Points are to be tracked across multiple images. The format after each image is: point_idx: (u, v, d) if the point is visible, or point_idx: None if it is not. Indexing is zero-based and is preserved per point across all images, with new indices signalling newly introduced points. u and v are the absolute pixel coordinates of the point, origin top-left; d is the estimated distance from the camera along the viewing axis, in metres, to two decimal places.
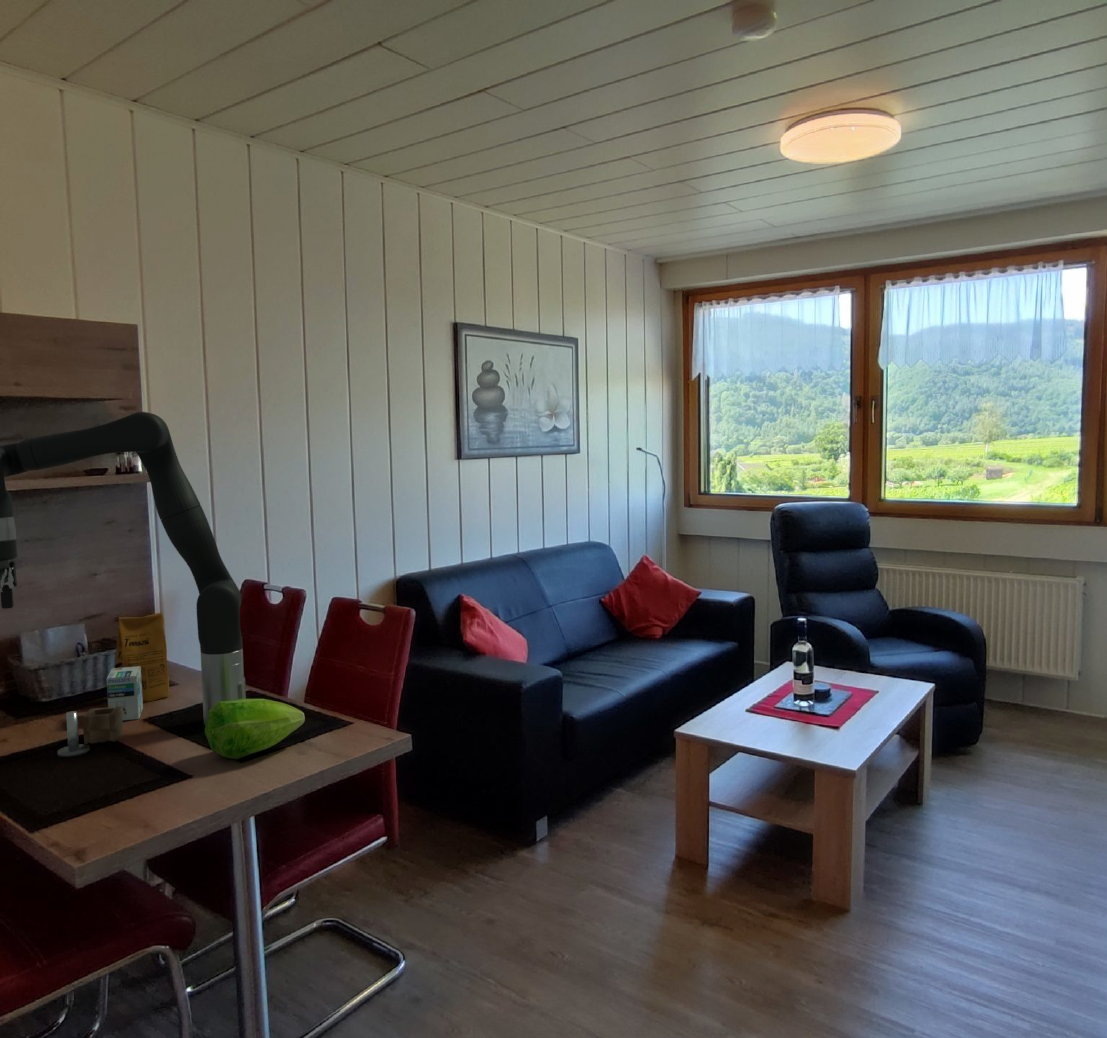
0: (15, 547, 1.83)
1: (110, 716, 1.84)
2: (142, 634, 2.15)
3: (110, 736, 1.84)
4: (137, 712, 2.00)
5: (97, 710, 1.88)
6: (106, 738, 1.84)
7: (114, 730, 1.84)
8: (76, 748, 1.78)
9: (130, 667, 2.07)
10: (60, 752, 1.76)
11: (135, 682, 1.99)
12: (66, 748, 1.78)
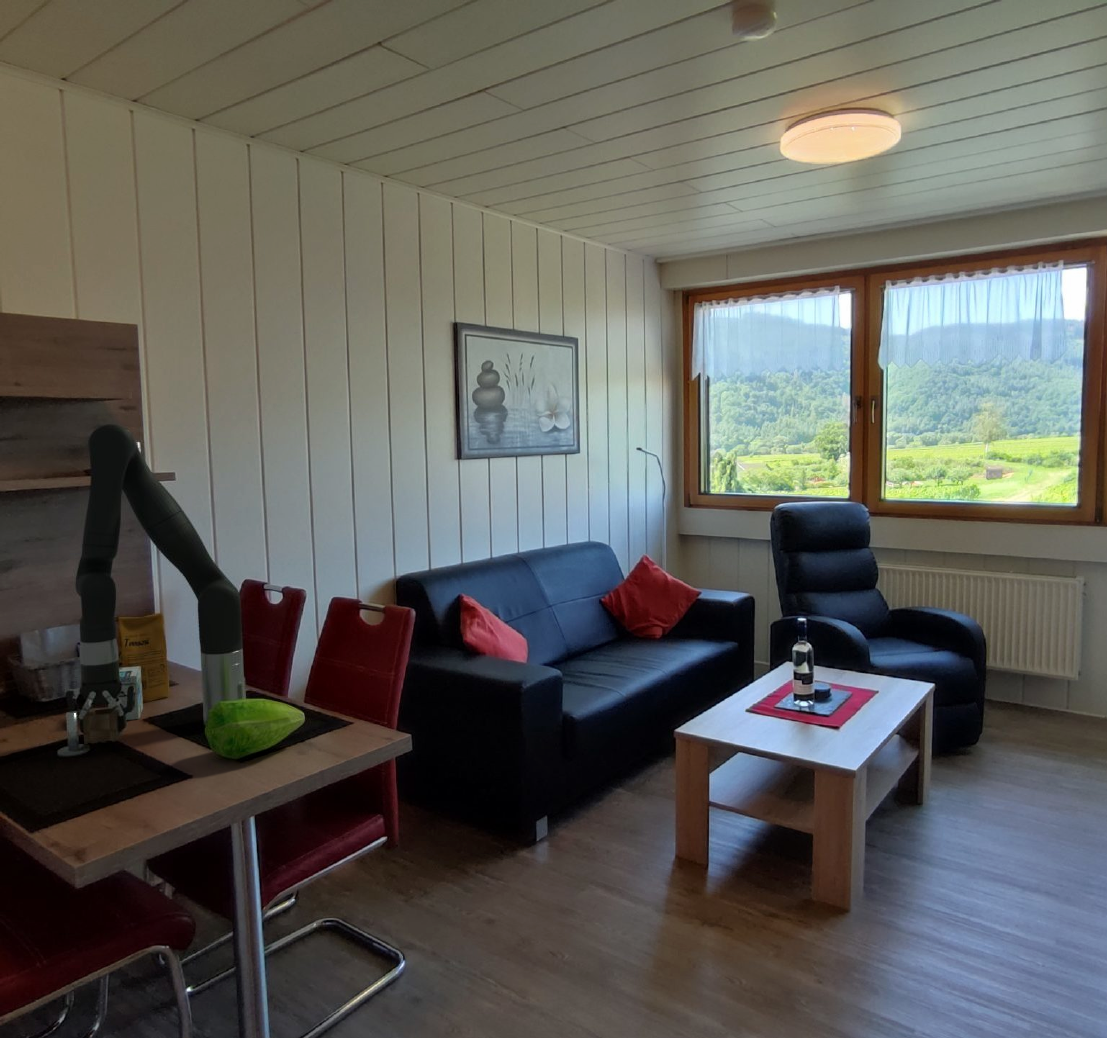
0: None
1: (110, 716, 1.84)
2: (142, 634, 2.15)
3: (110, 736, 1.84)
4: (137, 712, 2.00)
5: (97, 710, 1.88)
6: (106, 738, 1.84)
7: (114, 730, 1.84)
8: (76, 748, 1.78)
9: (130, 667, 2.07)
10: (60, 752, 1.76)
11: (135, 682, 1.99)
12: (66, 748, 1.78)
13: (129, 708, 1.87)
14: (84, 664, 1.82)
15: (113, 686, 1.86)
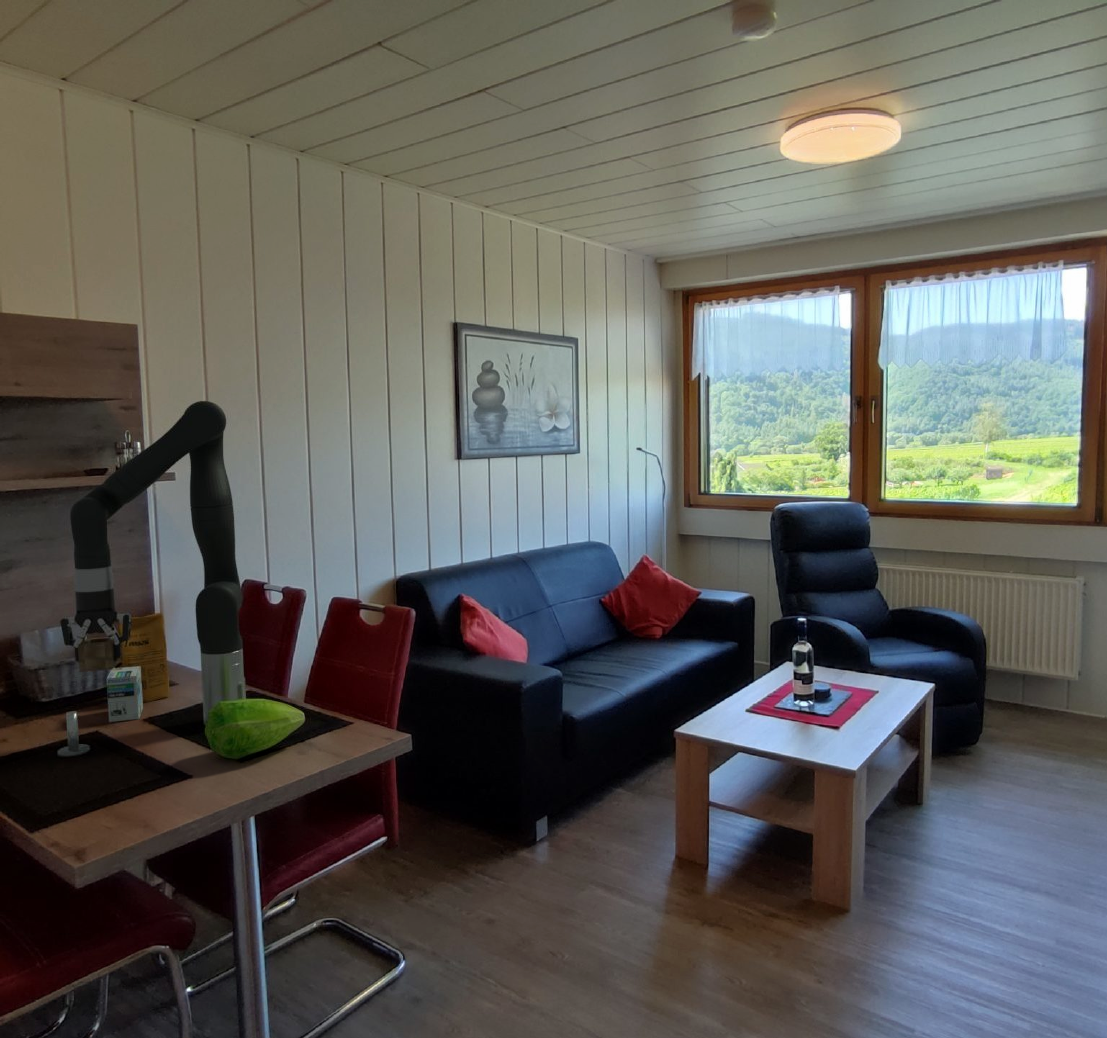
0: None
1: (105, 644, 1.82)
2: (142, 634, 2.15)
3: (106, 665, 1.83)
4: (137, 712, 2.00)
5: (92, 640, 1.86)
6: (102, 666, 1.82)
7: (110, 658, 1.83)
8: (76, 748, 1.78)
9: (130, 667, 2.07)
10: (60, 752, 1.76)
11: (135, 682, 1.99)
12: (66, 748, 1.78)
13: (124, 637, 1.85)
14: (79, 591, 1.80)
15: (108, 614, 1.84)
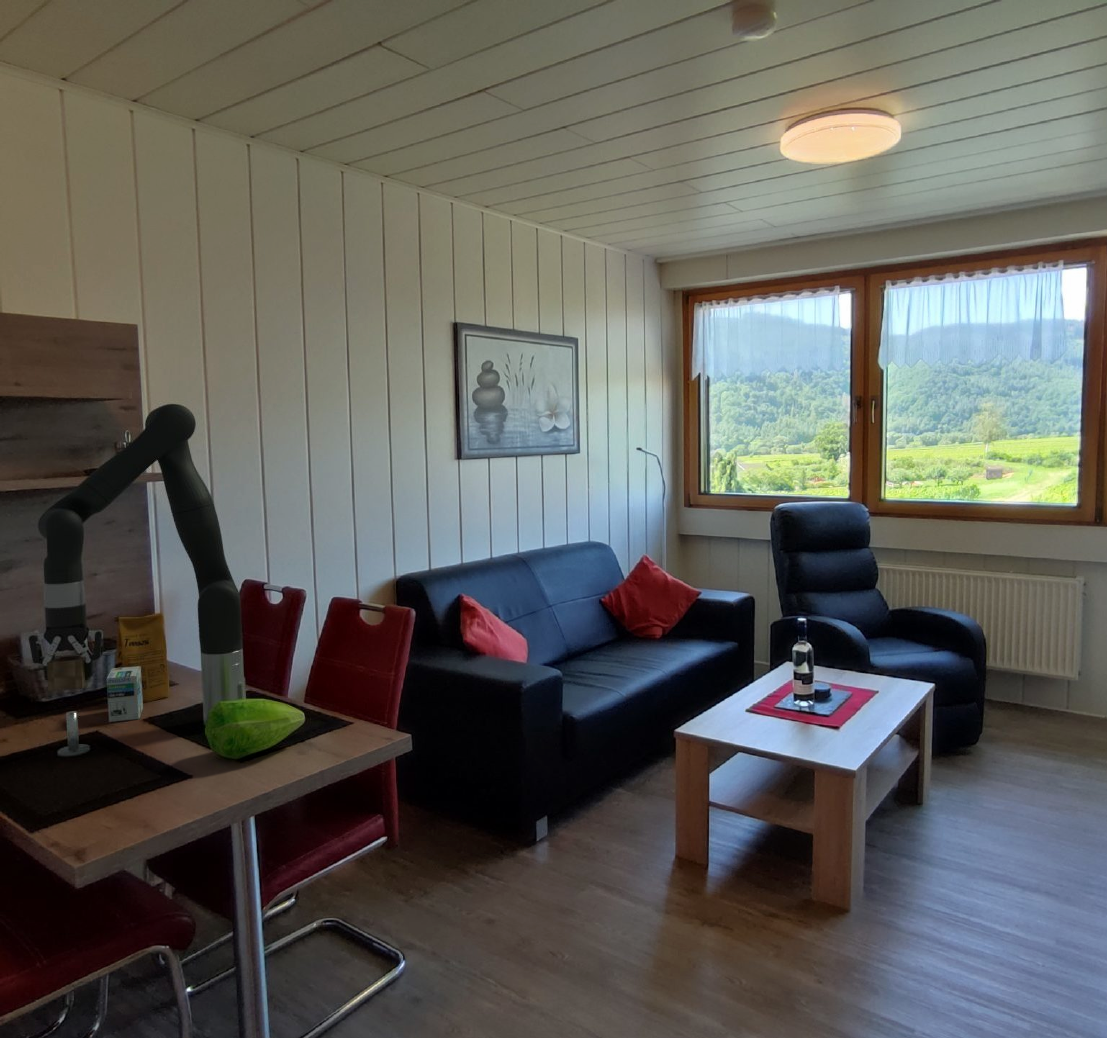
0: None
1: (76, 662, 1.74)
2: (142, 634, 2.15)
3: (76, 684, 1.74)
4: (137, 712, 2.00)
5: (63, 657, 1.78)
6: (72, 686, 1.74)
7: (80, 677, 1.75)
8: (76, 748, 1.78)
9: (130, 667, 2.07)
10: (60, 752, 1.76)
11: (135, 682, 1.99)
12: (66, 748, 1.78)
13: (96, 655, 1.77)
14: (48, 607, 1.72)
15: (79, 631, 1.76)
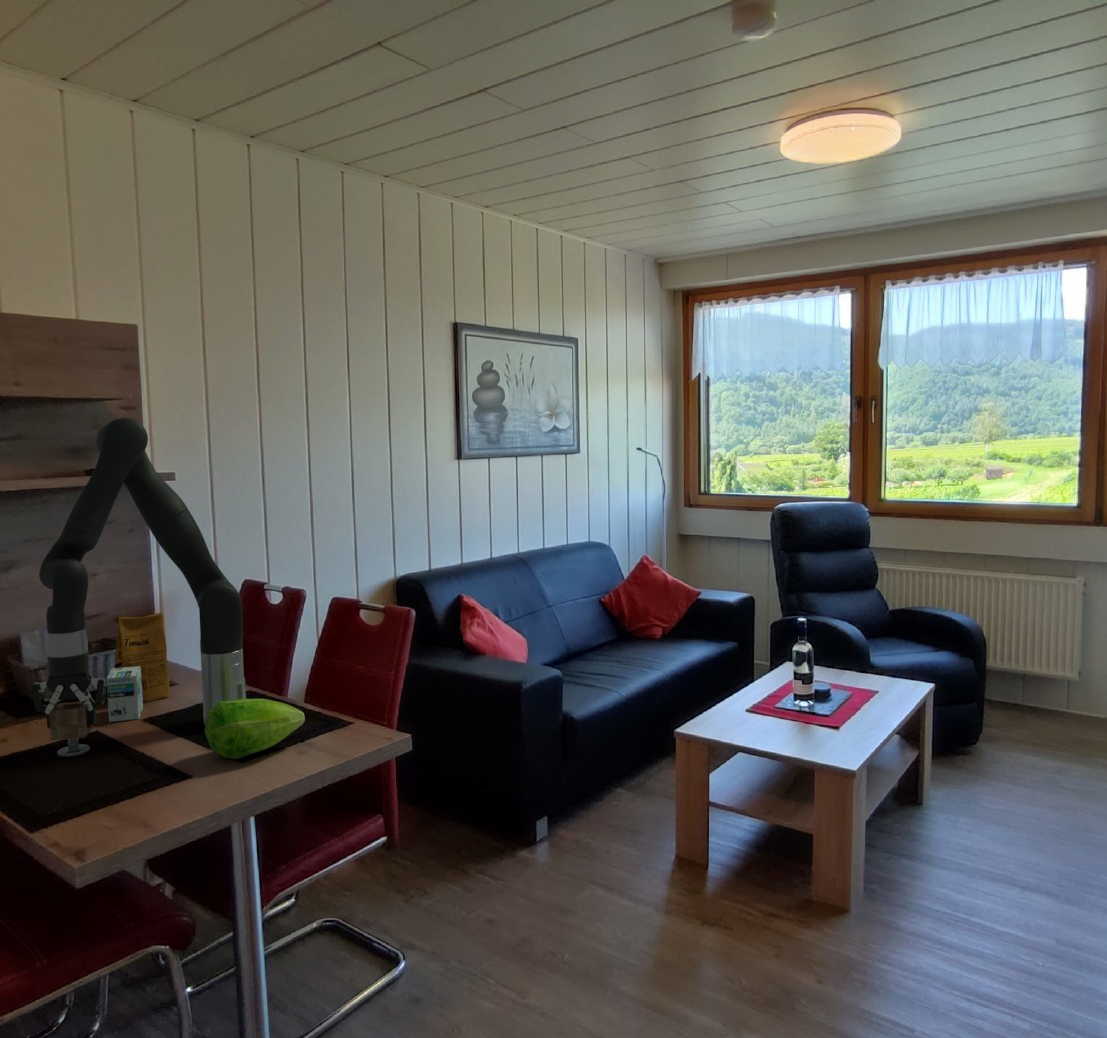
0: None
1: (78, 711, 1.75)
2: (142, 634, 2.15)
3: (78, 732, 1.75)
4: (137, 712, 2.00)
5: (65, 705, 1.79)
6: (74, 734, 1.75)
7: (82, 726, 1.75)
8: (76, 748, 1.78)
9: (130, 667, 2.07)
10: (60, 752, 1.76)
11: (135, 682, 1.99)
12: (66, 748, 1.78)
13: (99, 703, 1.78)
14: (51, 656, 1.73)
15: (82, 679, 1.77)
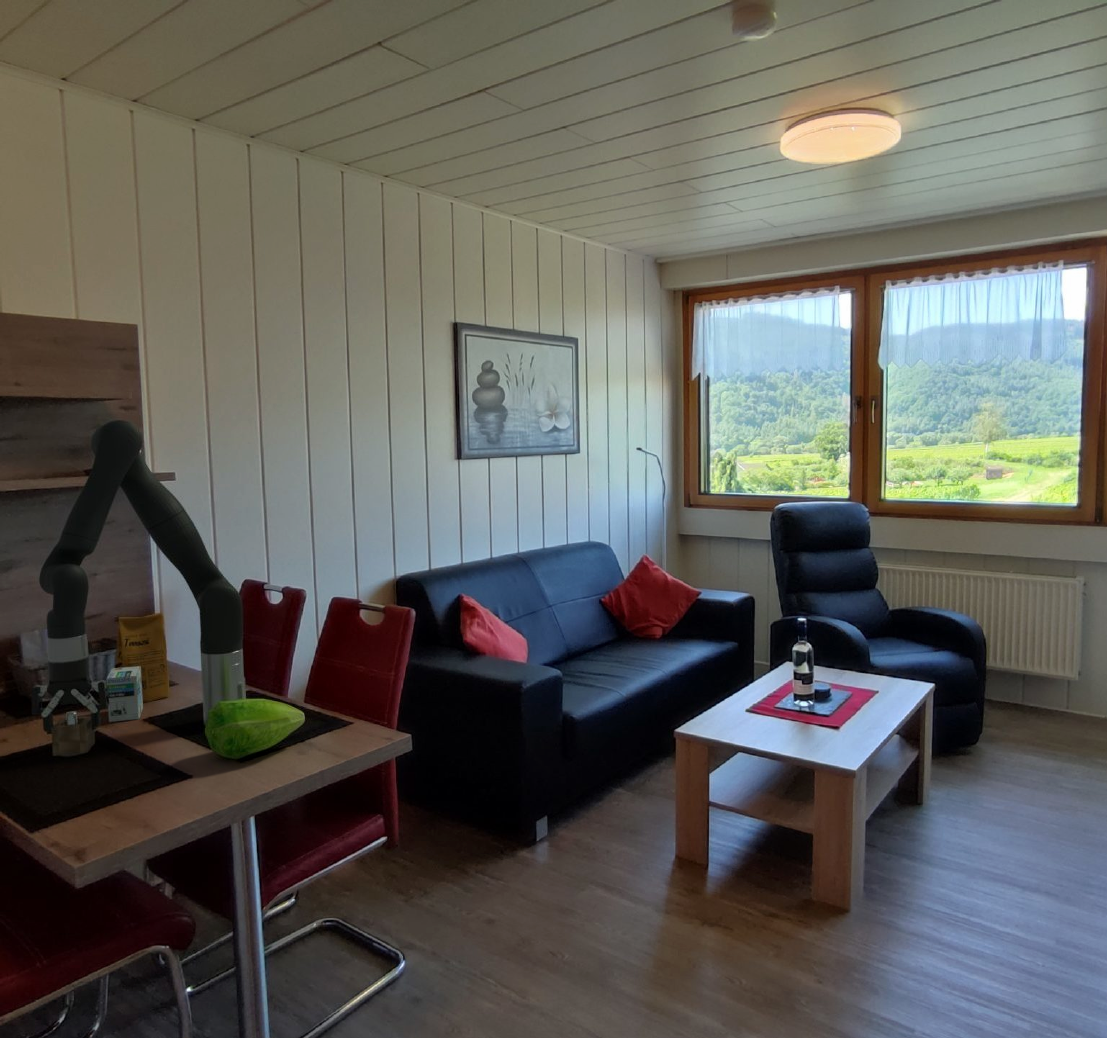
0: None
1: (80, 726, 1.75)
2: (142, 634, 2.15)
3: (80, 748, 1.75)
4: (137, 712, 2.00)
5: None
6: (76, 750, 1.75)
7: (84, 741, 1.76)
8: None
9: (130, 667, 2.07)
10: None
11: (135, 682, 1.99)
12: None
13: (103, 705, 1.78)
14: (51, 661, 1.73)
15: (82, 684, 1.77)
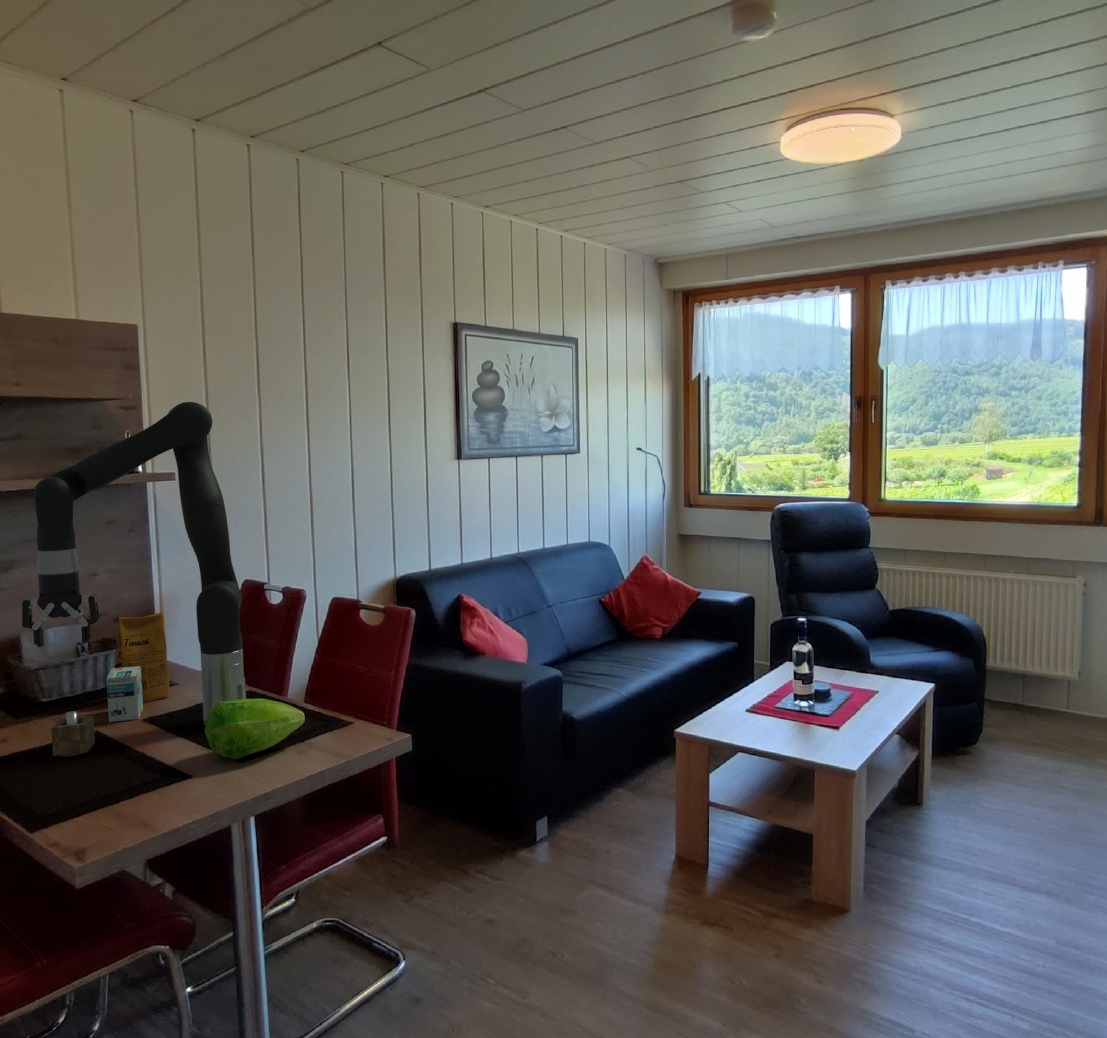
0: None
1: (80, 726, 1.75)
2: (142, 634, 2.15)
3: (80, 748, 1.75)
4: (137, 712, 2.00)
5: None
6: (76, 750, 1.75)
7: (84, 741, 1.76)
8: None
9: (130, 667, 2.07)
10: None
11: (135, 682, 1.99)
12: None
13: (94, 619, 1.80)
14: (42, 573, 1.75)
15: (73, 598, 1.78)
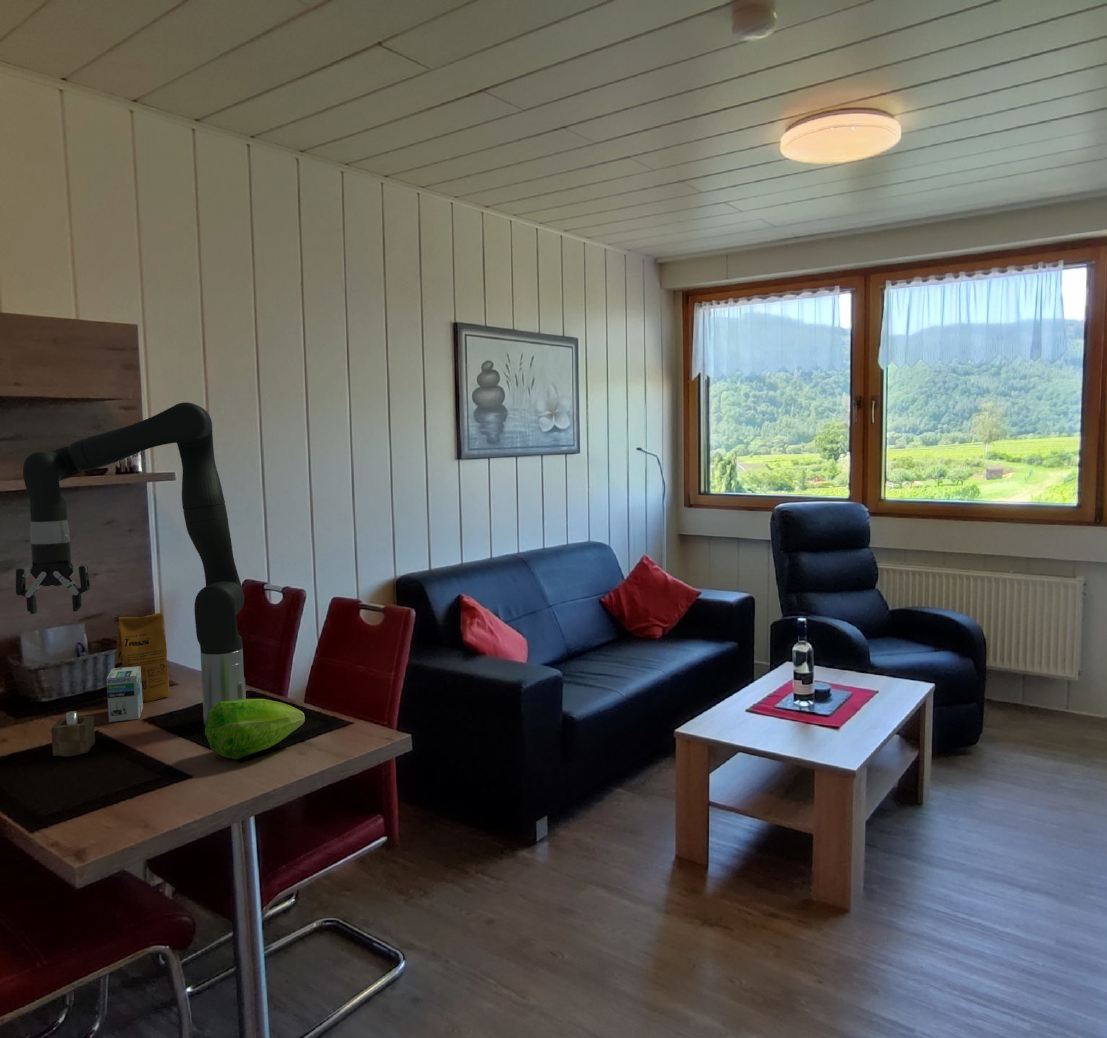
0: None
1: (80, 726, 1.75)
2: (142, 634, 2.15)
3: (80, 748, 1.75)
4: (137, 712, 2.00)
5: None
6: (76, 750, 1.75)
7: (84, 741, 1.76)
8: None
9: (130, 667, 2.07)
10: None
11: (135, 682, 1.99)
12: None
13: (84, 587, 1.88)
14: (34, 543, 1.83)
15: (64, 567, 1.87)
